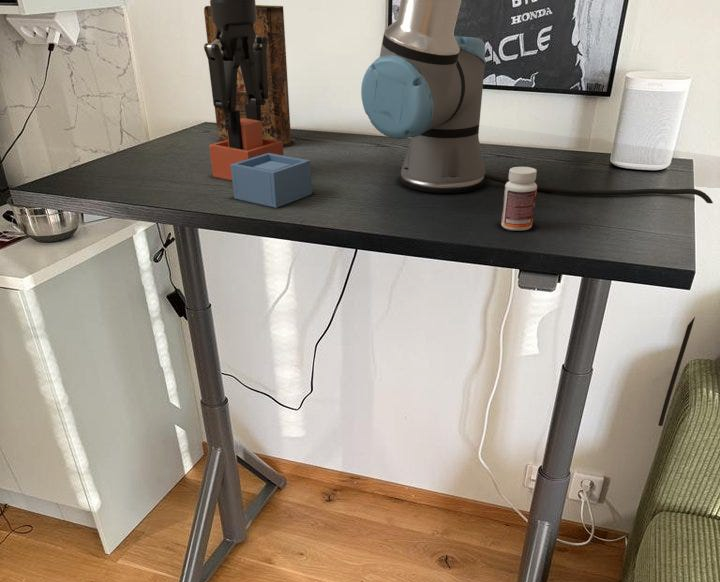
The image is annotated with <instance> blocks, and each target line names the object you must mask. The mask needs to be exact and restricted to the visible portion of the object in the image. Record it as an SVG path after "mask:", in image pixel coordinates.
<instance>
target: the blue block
mask: <svg viewBox="0 0 720 582" xmlns="http://www.w3.org/2000/svg"><path fill="white" fill-rule="evenodd" d="M287 166H290V164H285V163H279V162H273V161H269V162H266V163H263V164H260V165H257V166H254V168H260V169H265V170H270V171H275V170H278V169H281V168H284V167H287Z"/></svg>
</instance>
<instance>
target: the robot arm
mask: <svg viewBox="0 0 720 582" xmlns="http://www.w3.org/2000/svg"><path fill="white" fill-rule="evenodd" d="M461 3H462V0H400V2H399V6H398V7H399V8H398V12H397V17H396V20H395V21H394V22H392V23H391V24H390V25H388V26H387V27H386V28H385V29H384V32H383V36H382V43H381V48H380V53H379V57H377V58H376V59H375V60H374V61H372V63H371V64H370V65H369V66H368V67H367V69H366V70H365V73H364V75H363V77H362V82H361V91H360V94H361V95H360V96H361V102H362V107H363V110H364V112H365V114H366V115H367V117H368V119H369V121H370V123H371V125H372V126H373V127H374V128H375V129H376V130H377V131H378V132H379V133H381V134H382V135H384V136H386V137H388V138H390V139H395V140H406V139H410V138H411V139H410V142H409V145H408V149H407V151H406V153H405V157H404V160H403V162H402V166H401V170H400V182H401V184H402V185H403V186H404V187H406V188H408V189H410V190H411V189H412V190H414V191H415V190H416V191H418V192H423V193H424V192H425V193H431V194H458V193H466V192H470V191H471V192H472V191H475V190H478V189H480V188H481V187H483V186H484V185H485V183H486V180H487V181H492V182H497V183H501V184H504V185H506V183H507V182H508V181H510V180H509V178H506V177H501V176H497V175H493V174H488V173H486V167H485V162H484V158H483V153H482V148H481V143H480V138H479V135H480V122H481V112H482V100H483V99H482V98H483V90H484V77H485V68H486V65H487V61H486V44H485V42H484V40H483V39H481V38H479V37H474V36H473V37H472V36H459V35H455V28H456V23H457V19H458V15H459V12H460V8H461ZM256 5H257V4H256V0H209V6H210V7H211V16H212V22H213V23H214V24H215V25H216V35H215V40H214V41H213V42H212V43H210V44H209V43H208V42H206V43H204V45H203V49H204V53H205V56H206V58H207V62H208V70H209V71H208V72H209V78H210V87H211V94H212V95H211V96H212V103H213V107H214V109H215V108H219V109H220V110H223V112H224V119H225V128H226V130H228V139H229V147H231V148H236V149H242V150H243V144H242V133H241V122H240V111H237V110H236V93H237V71H238V68H239V66H240V68H241V72H242V77H243V81H244V85H245V89H246V94H247V98H248V102H249V103H250V105H249V104H248V105H245V107H246V118H247V119H252V120H258V121H261V122H262V116H261V105H265V99H268V96H269V95H268V79H267V64H266V47H267V38H266V37H261V36H258V35H256V32H255V30H254V27H253V24H254V23H255V22H256V20H257V17H256ZM230 61H232V62H230ZM261 90H262V91H261ZM228 101H229V103H228ZM536 185H537V191H539V192H545V193H547V192H548V193H555V194H566V195H583V196H633V195H695V196H698V197H699V198H701V199H703V201H705V203H706V204H714V202H713V200H712V199H711V197H710V196H709V195H708V194H707V193H705V192H704V191H702V190H700V189H696V188H638V189H637V188H636V189H583V188H581V189H580V188H566V187H557V186H548V185H547V186H546V185H539V184H536ZM695 320H696V316H694V317H693V318H692V319H691V321H690V322H689V323H688V324H687V325H686V329H685V332H684V336H683V340H682V343H681V346H680V349H679V353H678V355H677V358H676V362H675V366H674V369H673V372H672V374H671V378H670V382H669V385H668V389H667V392H666V395H665V399H664V402H663V406H662V410H661V413H660V417H659V421H658V426H659V427H663V426H664V422H665V418H666V414H667V411H668V407H669V404H670V401H671V397H672V393H673V390H674V387H675V384H676V380H677V378H678V374H679V371H680V368H681V366H682V365H681V364H682V361H683V358H684V356H685V355H684V354H685V351H686V348H687V345H688V342H689V339H690V335H691V333H692V329H693V325H694V322H695Z"/></svg>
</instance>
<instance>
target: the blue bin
mask: <svg viewBox="0 0 720 582" xmlns="http://www.w3.org/2000/svg"><path fill="white" fill-rule="evenodd" d="M283 155H284V154H283ZM283 155H277V154H271V153H266V154H263V155H260V156H256V157H253V158H250V159H247V160H243V161H240V162H237V163H234V164H231V172H232V181H231V183H232V191H233V197H234V200H240V201H244V202H248V203H253V204H257V205H261V206H265V207H270V208H274V209H276V208H280V207H282V206H285V205H287V204H290V203H292V202H294V201H297V200H300V199H303V198H306V197H308V196H310V195H312V194H313V191H312V190H313V189H312V170H311V169H312V168H311V160H310V159H304V158H300V157H294V156H293V157H292V156H288V155H284V156H283ZM269 161H273V162H279V163H285V164H290V166H287V167H284V168H281V169H278V170H275V171H270V170H265V169H260V168H254V166H257V165H260V164H263V163H266V162H269Z"/></svg>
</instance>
